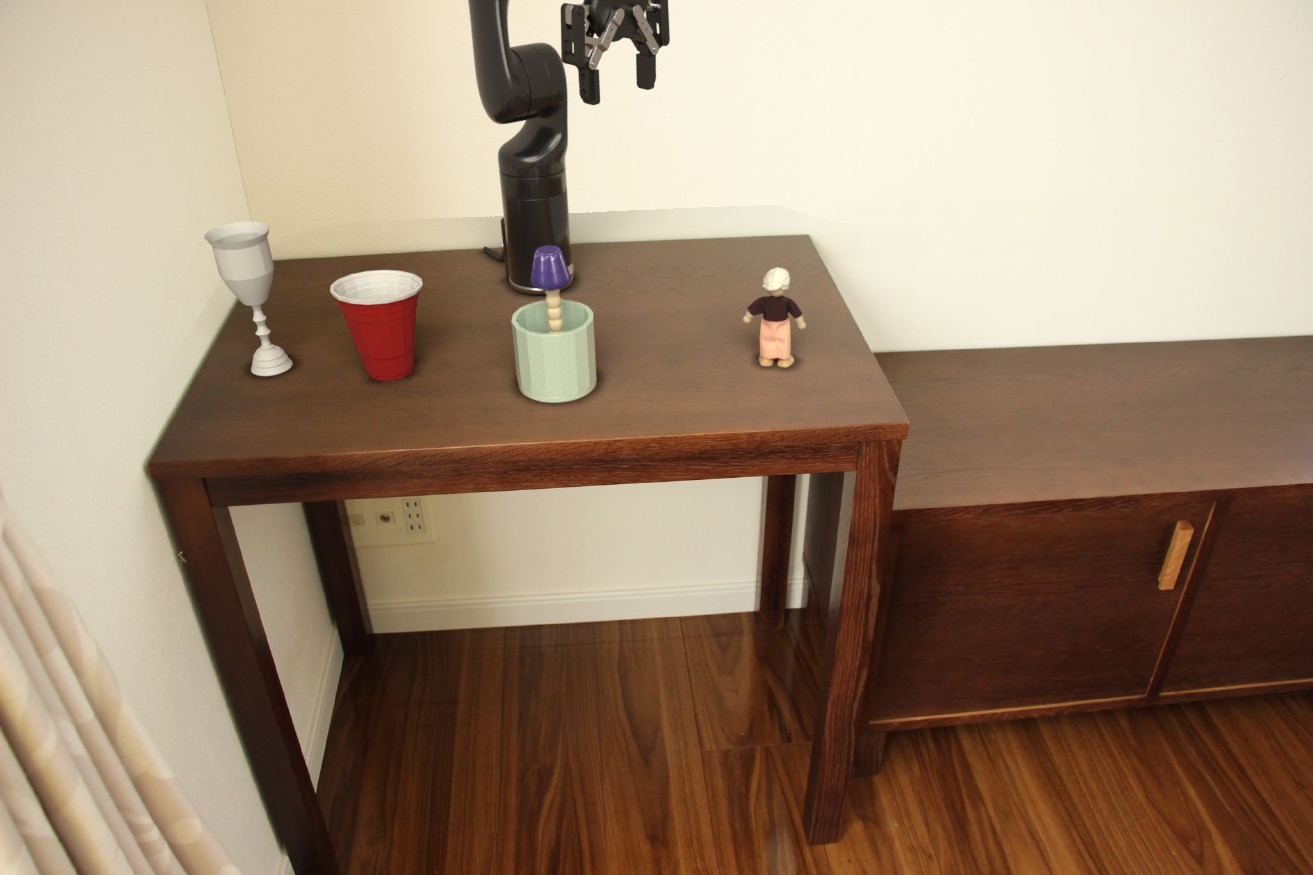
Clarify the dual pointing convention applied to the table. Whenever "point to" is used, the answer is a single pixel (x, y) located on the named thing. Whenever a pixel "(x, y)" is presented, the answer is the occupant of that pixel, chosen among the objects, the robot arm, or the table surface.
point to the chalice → (250, 282)
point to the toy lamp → (551, 281)
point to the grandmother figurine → (775, 319)
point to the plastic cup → (381, 319)
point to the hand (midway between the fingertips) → (618, 96)
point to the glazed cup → (555, 352)
